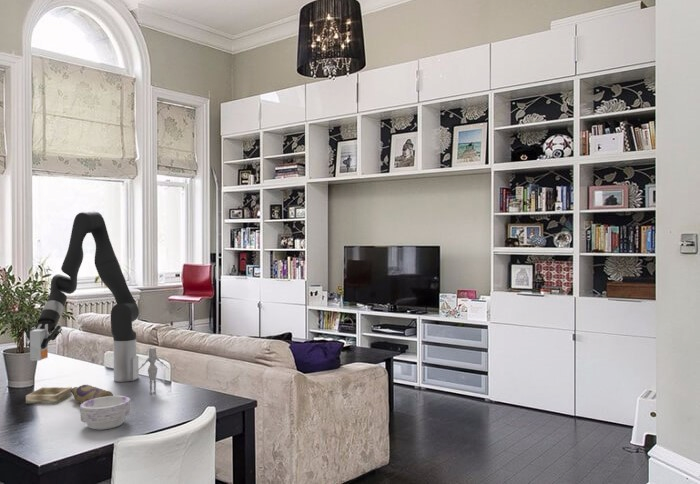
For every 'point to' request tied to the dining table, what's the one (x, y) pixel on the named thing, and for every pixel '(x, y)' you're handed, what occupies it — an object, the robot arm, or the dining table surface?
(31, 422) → the dining table surface
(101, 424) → the paper bowls
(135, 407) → the dining table surface
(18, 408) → the dining table surface
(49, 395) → the pocket tray
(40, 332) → the skincare box
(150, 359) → the human figurine
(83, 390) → the decorative bottle
